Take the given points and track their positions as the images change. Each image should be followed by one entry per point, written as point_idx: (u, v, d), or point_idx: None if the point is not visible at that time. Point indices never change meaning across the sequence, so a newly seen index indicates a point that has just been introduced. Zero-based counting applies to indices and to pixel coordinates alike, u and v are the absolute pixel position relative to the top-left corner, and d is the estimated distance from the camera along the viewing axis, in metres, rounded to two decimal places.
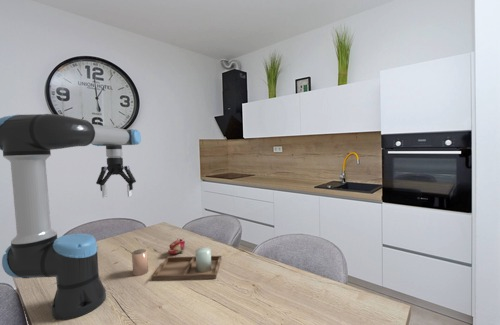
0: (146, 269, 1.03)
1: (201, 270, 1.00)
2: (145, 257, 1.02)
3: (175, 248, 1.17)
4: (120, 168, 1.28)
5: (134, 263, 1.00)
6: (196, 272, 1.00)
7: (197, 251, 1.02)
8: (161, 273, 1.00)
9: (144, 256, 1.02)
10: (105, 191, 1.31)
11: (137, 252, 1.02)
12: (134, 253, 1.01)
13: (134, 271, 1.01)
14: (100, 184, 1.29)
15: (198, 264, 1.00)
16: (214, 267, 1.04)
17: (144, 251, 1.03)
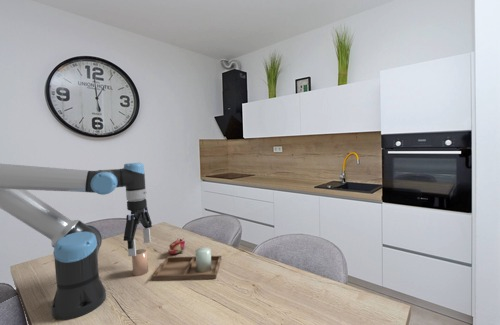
0: (146, 269, 1.03)
1: (201, 270, 1.00)
2: (145, 257, 1.02)
3: (175, 248, 1.17)
4: None
5: (134, 263, 1.00)
6: (196, 272, 1.00)
7: (197, 251, 1.02)
8: (161, 273, 1.00)
9: (144, 256, 1.02)
10: (147, 236, 1.09)
11: (137, 252, 1.02)
12: None
13: (134, 271, 1.01)
14: (144, 226, 1.10)
15: (198, 264, 1.00)
16: (214, 267, 1.04)
17: (144, 251, 1.03)
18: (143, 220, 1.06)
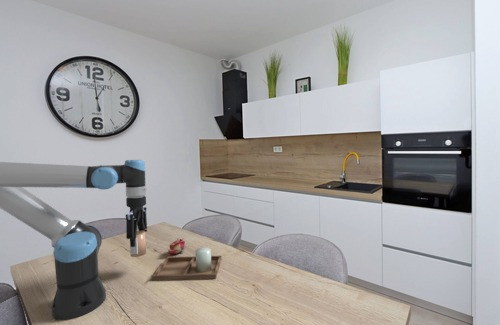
0: (144, 250, 1.02)
1: (201, 270, 1.00)
2: (143, 238, 1.01)
3: (175, 248, 1.17)
4: None
5: None
6: (196, 272, 1.00)
7: (197, 251, 1.02)
8: (161, 273, 1.00)
9: (142, 237, 1.01)
10: None
11: None
12: None
13: None
14: (139, 230, 1.07)
15: (198, 264, 1.00)
16: (214, 267, 1.04)
17: (142, 232, 1.02)
18: (140, 220, 1.04)
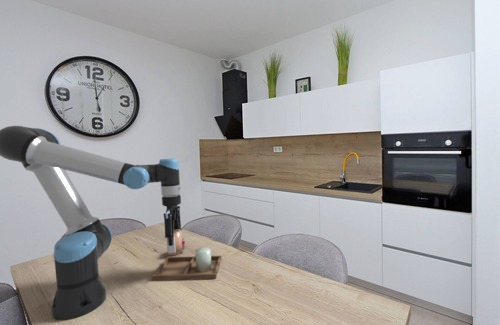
0: (181, 249, 1.02)
1: (201, 270, 1.00)
2: (179, 237, 1.01)
3: None
4: None
5: None
6: (196, 272, 1.00)
7: (197, 251, 1.02)
8: (161, 273, 1.00)
9: (179, 236, 1.01)
10: None
11: None
12: None
13: None
14: (173, 229, 1.07)
15: (198, 264, 1.00)
16: (214, 267, 1.04)
17: (178, 231, 1.02)
18: (175, 219, 1.04)
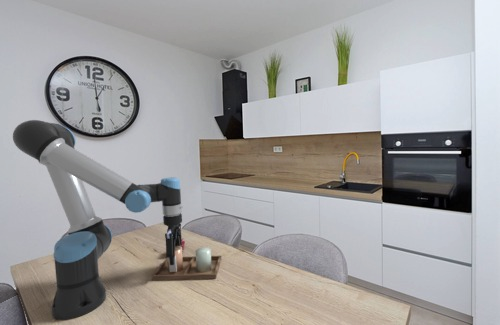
0: (181, 266, 1.02)
1: (201, 270, 1.00)
2: (180, 254, 1.02)
3: None
4: None
5: None
6: (196, 272, 1.00)
7: (197, 251, 1.02)
8: (161, 273, 1.00)
9: (180, 253, 1.02)
10: None
11: None
12: None
13: None
14: None
15: (198, 264, 1.00)
16: (214, 267, 1.04)
17: (179, 248, 1.03)
18: (176, 237, 1.04)
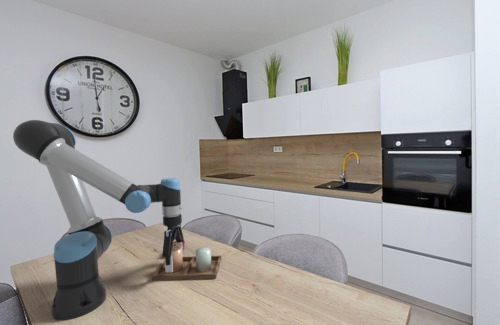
0: (181, 266, 1.02)
1: (201, 270, 1.00)
2: (180, 254, 1.02)
3: None
4: None
5: None
6: (196, 272, 1.00)
7: (197, 251, 1.02)
8: (161, 273, 1.00)
9: (180, 253, 1.02)
10: None
11: (172, 249, 1.02)
12: None
13: None
14: None
15: (198, 264, 1.00)
16: (214, 267, 1.04)
17: (179, 248, 1.03)
18: (177, 235, 1.06)
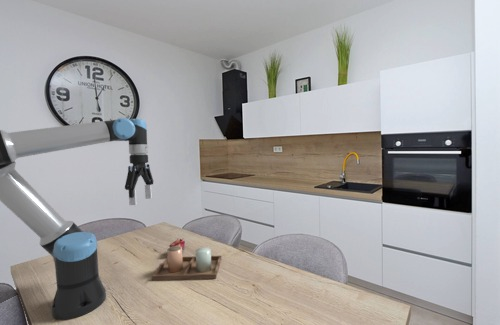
0: (181, 266, 1.02)
1: (201, 270, 1.00)
2: (181, 254, 1.02)
3: None
4: None
5: (170, 260, 1.00)
6: (196, 272, 1.00)
7: (197, 251, 1.02)
8: (161, 273, 1.00)
9: (180, 253, 1.02)
10: (148, 192, 1.15)
11: (172, 249, 1.02)
12: (170, 250, 1.01)
13: (170, 268, 1.00)
14: (146, 183, 1.16)
15: (198, 264, 1.00)
16: (214, 267, 1.04)
17: (179, 248, 1.03)
18: (145, 176, 1.12)
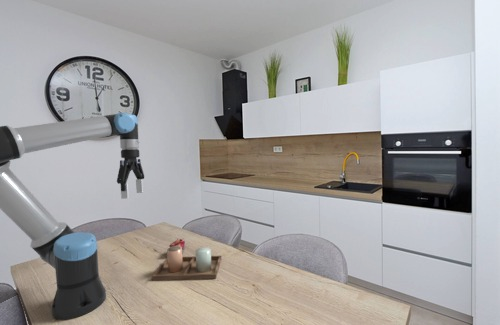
0: (181, 266, 1.02)
1: (201, 270, 1.00)
2: (180, 254, 1.02)
3: None
4: None
5: (170, 260, 1.00)
6: (196, 272, 1.00)
7: (197, 251, 1.02)
8: (161, 273, 1.00)
9: (180, 253, 1.02)
10: (139, 186, 1.17)
11: (172, 249, 1.02)
12: (170, 250, 1.01)
13: (170, 268, 1.00)
14: (137, 178, 1.18)
15: (198, 264, 1.00)
16: (214, 267, 1.04)
17: (179, 248, 1.03)
18: (136, 170, 1.14)
